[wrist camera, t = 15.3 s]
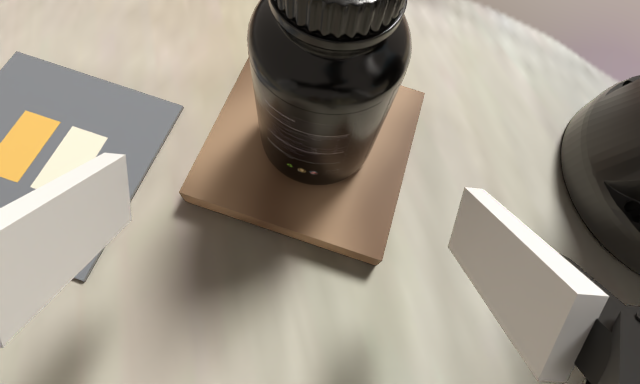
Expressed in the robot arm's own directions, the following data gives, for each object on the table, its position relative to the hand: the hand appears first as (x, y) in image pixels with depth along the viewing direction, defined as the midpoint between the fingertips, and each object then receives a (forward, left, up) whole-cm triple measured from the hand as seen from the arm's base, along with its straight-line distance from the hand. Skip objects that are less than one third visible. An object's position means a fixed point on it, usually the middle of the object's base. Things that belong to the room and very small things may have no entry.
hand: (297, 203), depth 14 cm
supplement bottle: (+1, -7, -6) cm, 9 cm away
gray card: (+16, -1, -8) cm, 18 cm away
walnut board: (+1, -7, -8) cm, 10 cm away
